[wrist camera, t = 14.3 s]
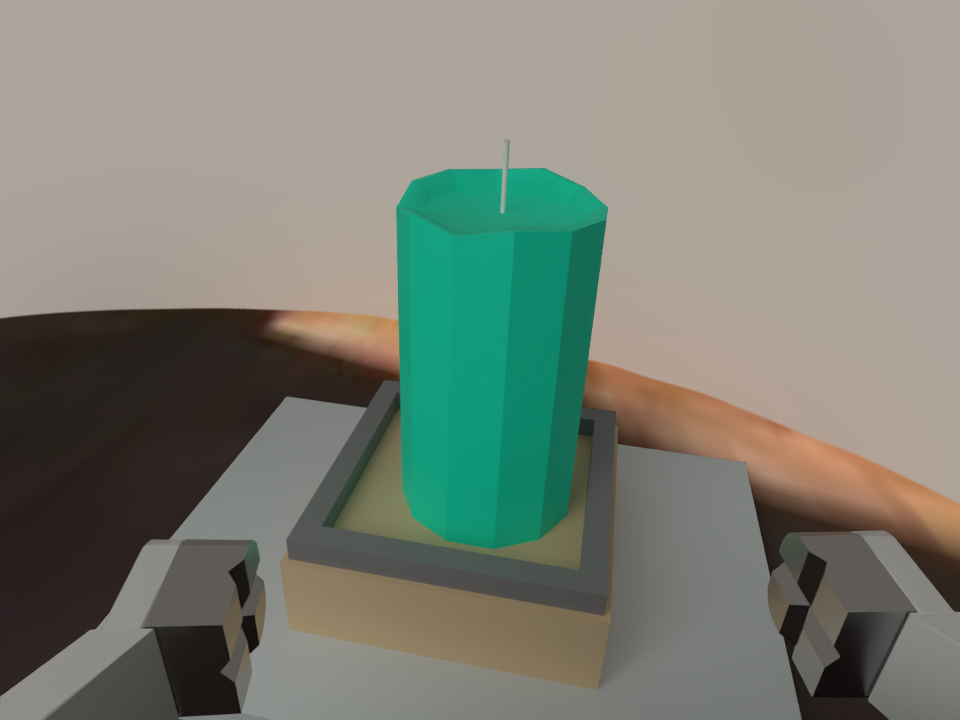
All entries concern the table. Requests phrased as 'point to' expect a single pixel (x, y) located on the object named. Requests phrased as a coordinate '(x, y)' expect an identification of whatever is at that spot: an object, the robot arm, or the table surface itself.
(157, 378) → the table surface
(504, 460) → the candle
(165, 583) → the robot arm
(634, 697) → the board
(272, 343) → the table surface
